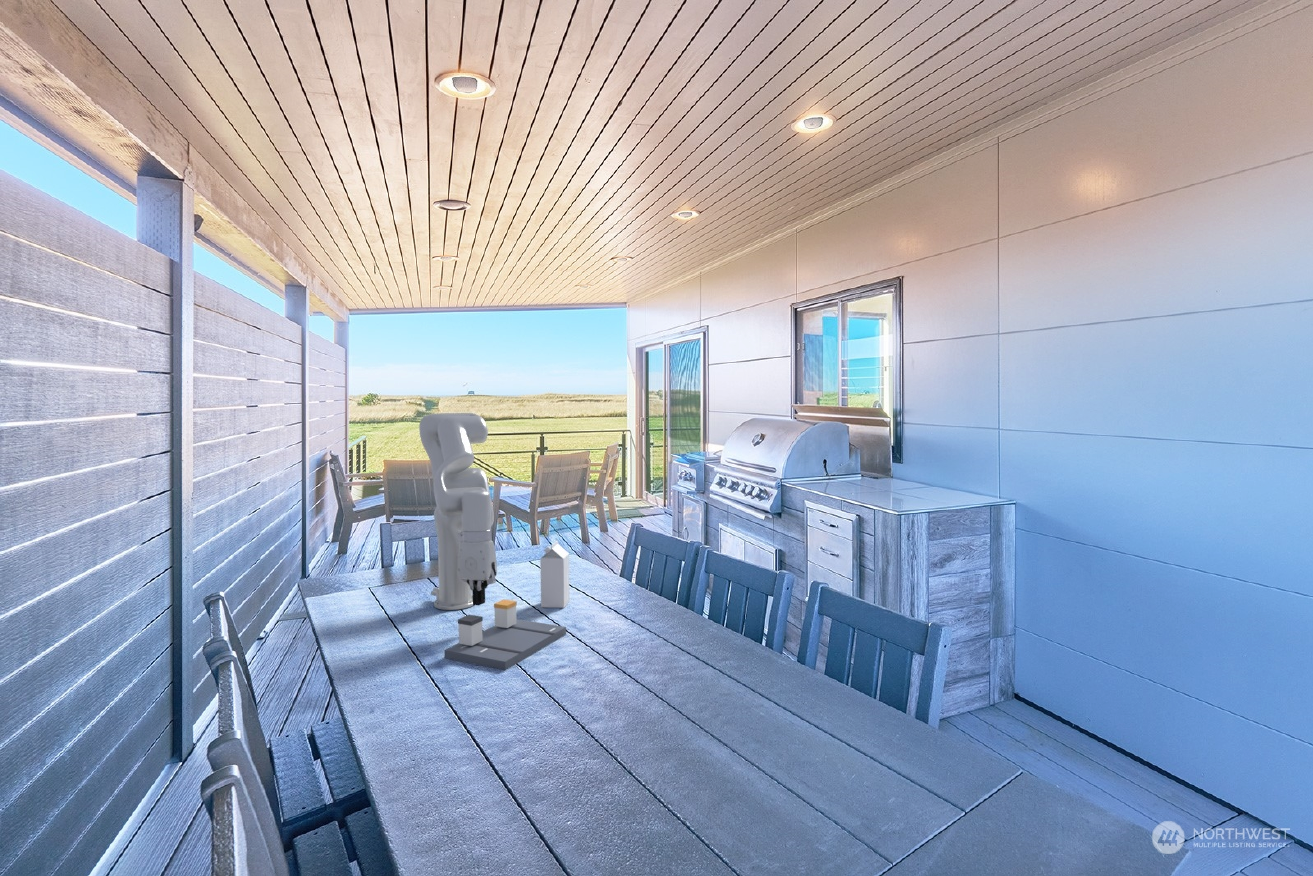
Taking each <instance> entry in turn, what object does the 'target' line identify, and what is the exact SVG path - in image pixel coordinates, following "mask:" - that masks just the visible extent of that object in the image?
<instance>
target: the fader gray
mask: <svg viewBox="0 0 1313 876" xmlns="http://www.w3.org/2000/svg"><path fill="white" fill-rule="evenodd" d="M483 619H484V618H483V616H481V615H475V614H468V615H465V616H462V617H461V618H458V619H457V624H458V643H459V644H464V645H470V646H473V645H475V644H477V643H479V642H481V641H483V640H482V632H483V621H484V620H483Z"/></svg>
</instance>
